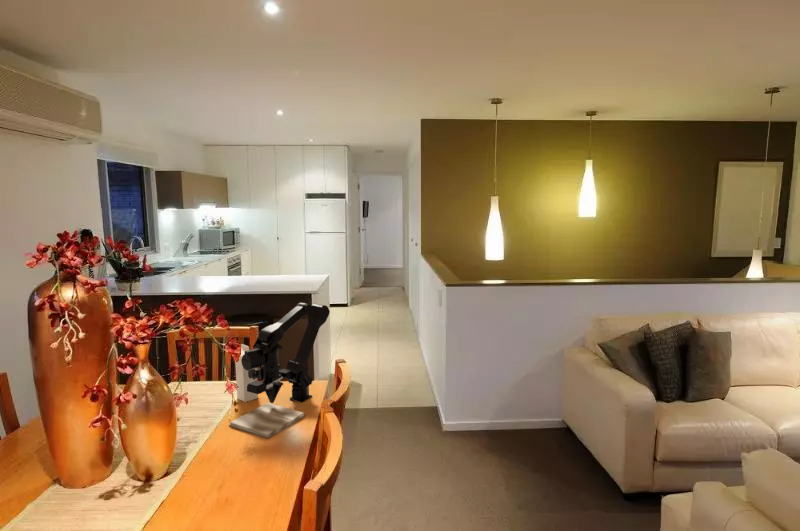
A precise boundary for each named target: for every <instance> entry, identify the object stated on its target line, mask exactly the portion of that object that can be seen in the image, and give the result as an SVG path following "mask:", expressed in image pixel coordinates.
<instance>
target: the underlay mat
mask: <svg viewBox="0 0 800 531" xmlns="http://www.w3.org/2000/svg"><path fill="white" fill-rule="evenodd" d="M305 417H306V414H304V416H303V417H301V418H299V419H298V420H296V421H295V422H293V423H292V424H290V425H288V426H287V427H285V428H283V429H282V430H280V431H278V432H277V433H275V434H273V435H272V436H270V437H268V438H267V437H264V436H261V435H258V434H255V433H252V432H249V431H246V430H243V429H240V428H236V427H233V426H230V424H229V425H228V427H231V428H234V429H236V430H239V431H243V432H246V433H249V434H252V435H254V436H257V437H260V438H263V439H270V438H272V437H273V436H274V435H277V434H278V433H280V432H282V431H283V430H285V429H286V428H289V427H290V426H291V425H293V424H295V423H296V422H298V421H300V420H302V419H304V418H305Z"/></svg>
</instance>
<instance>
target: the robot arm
mask: <svg viewBox="0 0 800 531" xmlns="http://www.w3.org/2000/svg"><path fill="white" fill-rule="evenodd" d="M330 311H331V310H330V308H329V307H328V306H327V305H324V304H319V303H312V304H309V303H306V302H299V303H297V304H296V306H294V308H292V309H291V310H290V311H289V312H288V313H286V314H285V315H284V316H283V317H282V318H280V319H279V320H278V321H277V322H275V323H273V324H269V325H268V326H265V327H264V328H262V329H260V331H259V333H258V336H257V338H256V340H255V342H254V344H253V346H252V349H249V350H247V351H245V355H243V357H242V359H241V362H242V366H243V368H244V369H245V370H248V376H249V378H250V379H251V378H253V380H254V379H256V378H257V379H258V380H260V381H258V380H257V381H254V382H251V383H249V384H248V385H247V392H251V393H255V394H258V395H261V394H263V393H265V394H266V396H267V399H268V400H269V403H271V404H274V402H275V400H276V398H277V396H278V394H279V392H280V390H281V388H282V386H284V382H281V380H282V379H284V378H286V380H288V383H289V384H292V386H291V396H290V397H289V400H290V401H294V402H297V403H304V402H306V401H307V400H309V399H311V398H312V397H313V396H312V395H311V394H310V391H309V390H310V385H312V384H313V380H314V379H313V378H312V377H311V376H310V375H308V374H309V363H308V362H309V358H310V356H311V353H312V350H313V348H314V344H315V341H316V338H317V336H318V333H319V330H320V328H321V327H322V326H323V325H324V324H325V323H326V321H327V320H328V318H329V316H330V313H331V312H330ZM305 316H306V320H307V325H306V328H305V331H304V334H303V336H302V339H301V340H300V341H301V342H300V344H299V347H298V350H297V353H296V355H295V357H294V358H293V359H292V360H290V359H289V360H288V361H287V365H286V368H282V369H279V368H281V367H282V365H281V364H280V363H279V350H281V349H283V348H284V347H283V346H282V345H280V343H281V341H282V339H284V336H285V334H286V333H287V331H289V329H291V328H292V327H293V326H294V325H295V324H297V322H299V321H300V320H301V319H302V318H304V317H305ZM254 368H257V369H256V370H255V369H254ZM261 380H263V381H261Z"/></svg>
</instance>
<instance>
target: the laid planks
mask: <svg viewBox="0 0 800 531" xmlns="http://www.w3.org/2000/svg"><path fill="white" fill-rule="evenodd" d="M290 424H291V425H293V424H292V420H289V419H286V418H283V417H279V416H276V415H272V414H269V413H265V412H262V411H259V410H256V409H253V410H251V411H249V412H247V413H246V414H243V415H241V416H239V417H238V418H235V419H234V420H232V421H230V422H229V425H230V426H233V427H236V428H240V429H243V430H246V431H249V432H252V433H255V434H258V435H261V436H264V437H267V438H268V437H270V436H271V437H273V436H274V435H273V434H275V433H276V434H278V433H279V432H278V431H280V430H281V431H283V430H284V429H283V428H285V427H286V428H288V427H289V426H288V425H290ZM291 425H290V426H291ZM230 426H229V427H230ZM287 426H288V427H287ZM233 427H232V428H233ZM236 428H235V429H236ZM286 428H285V429H286ZM282 429H283V430H282ZM281 431H280V432H281ZM277 432H278V433H277ZM276 434H275V435H276ZM272 435H273V436H272ZM271 437H270V438H271ZM268 439H269V438H268Z"/></svg>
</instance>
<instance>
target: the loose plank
mask: <svg viewBox="0 0 800 531" xmlns="http://www.w3.org/2000/svg"><path fill="white" fill-rule="evenodd" d="M255 410H259V411H262V412H265V413H269V414H272V415H276V416H279V417H283V418H286V419H289V420H292V423H293V422H295V421H296V420H298V419H299V418H301V417H303V416H304V415H305V413H304V412H302V411H299V410H296V409H292V408H289V407H285V406H282V405H278V404H274V403H270V402H266V403H264V404H263V405H260V406H259V407H257V408H255ZM303 418H304V417H303ZM301 419H302V418H301ZM298 421H299V420H298ZM296 422H297V421H296ZM296 422H295V423H296ZM293 424H294V423H293Z"/></svg>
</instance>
